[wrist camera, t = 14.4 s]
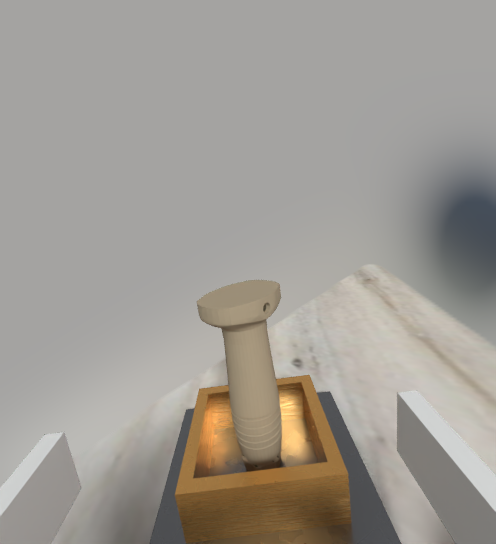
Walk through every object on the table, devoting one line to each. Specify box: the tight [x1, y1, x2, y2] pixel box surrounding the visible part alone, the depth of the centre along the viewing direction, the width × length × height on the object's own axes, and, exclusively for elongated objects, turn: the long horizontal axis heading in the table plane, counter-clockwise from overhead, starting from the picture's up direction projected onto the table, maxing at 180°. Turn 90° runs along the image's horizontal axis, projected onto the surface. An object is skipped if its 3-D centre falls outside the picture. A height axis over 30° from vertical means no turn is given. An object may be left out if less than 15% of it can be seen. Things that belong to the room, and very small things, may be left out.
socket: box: [150, 375, 401, 544], centre depth 25 cm, size 16×16×5 cm
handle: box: [197, 280, 282, 471], centre depth 23 cm, size 5×6×15 cm
